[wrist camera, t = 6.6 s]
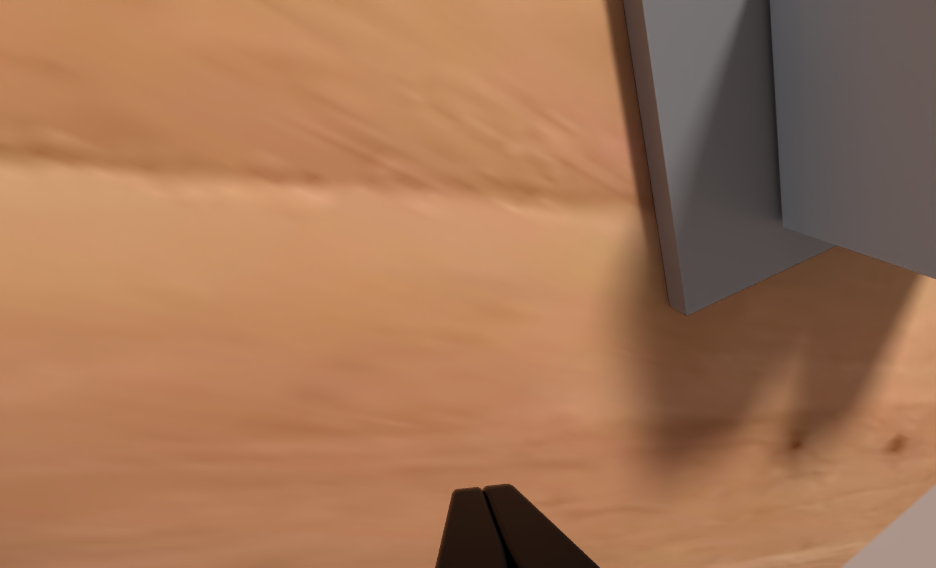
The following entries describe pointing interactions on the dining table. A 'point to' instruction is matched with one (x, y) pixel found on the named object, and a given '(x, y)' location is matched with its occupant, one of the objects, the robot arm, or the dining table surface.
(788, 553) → the dining table surface
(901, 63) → the blue-gray rectangular block
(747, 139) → the plate
